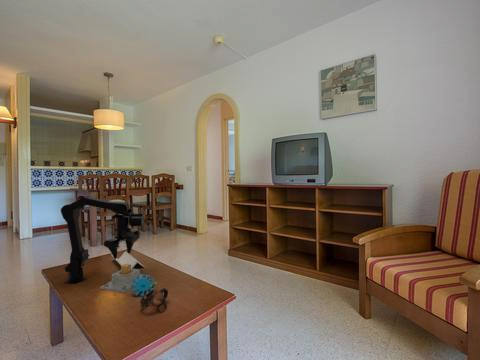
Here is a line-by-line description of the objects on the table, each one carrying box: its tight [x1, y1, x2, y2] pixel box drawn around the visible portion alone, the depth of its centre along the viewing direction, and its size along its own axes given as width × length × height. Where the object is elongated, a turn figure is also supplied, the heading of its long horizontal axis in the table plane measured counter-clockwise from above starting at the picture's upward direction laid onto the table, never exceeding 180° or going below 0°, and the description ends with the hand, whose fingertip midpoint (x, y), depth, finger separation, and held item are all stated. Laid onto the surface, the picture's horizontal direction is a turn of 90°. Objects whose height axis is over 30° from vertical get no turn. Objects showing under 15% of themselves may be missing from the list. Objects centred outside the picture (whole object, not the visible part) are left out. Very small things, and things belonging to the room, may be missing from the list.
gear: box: [131, 273, 157, 297], centre depth 112 cm, size 11×6×10 cm
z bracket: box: [110, 251, 146, 269], centre depth 147 cm, size 12×25×6 cm
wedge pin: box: [120, 264, 131, 274], centre depth 121 cm, size 3×3×8 cm
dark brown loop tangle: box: [139, 287, 169, 313], centre depth 99 cm, size 12×10×8 cm
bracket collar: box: [99, 268, 148, 294], centre depth 122 cm, size 14×18×6 cm
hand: (122, 255), depth 127 cm, fingers open, 9 cm apart
